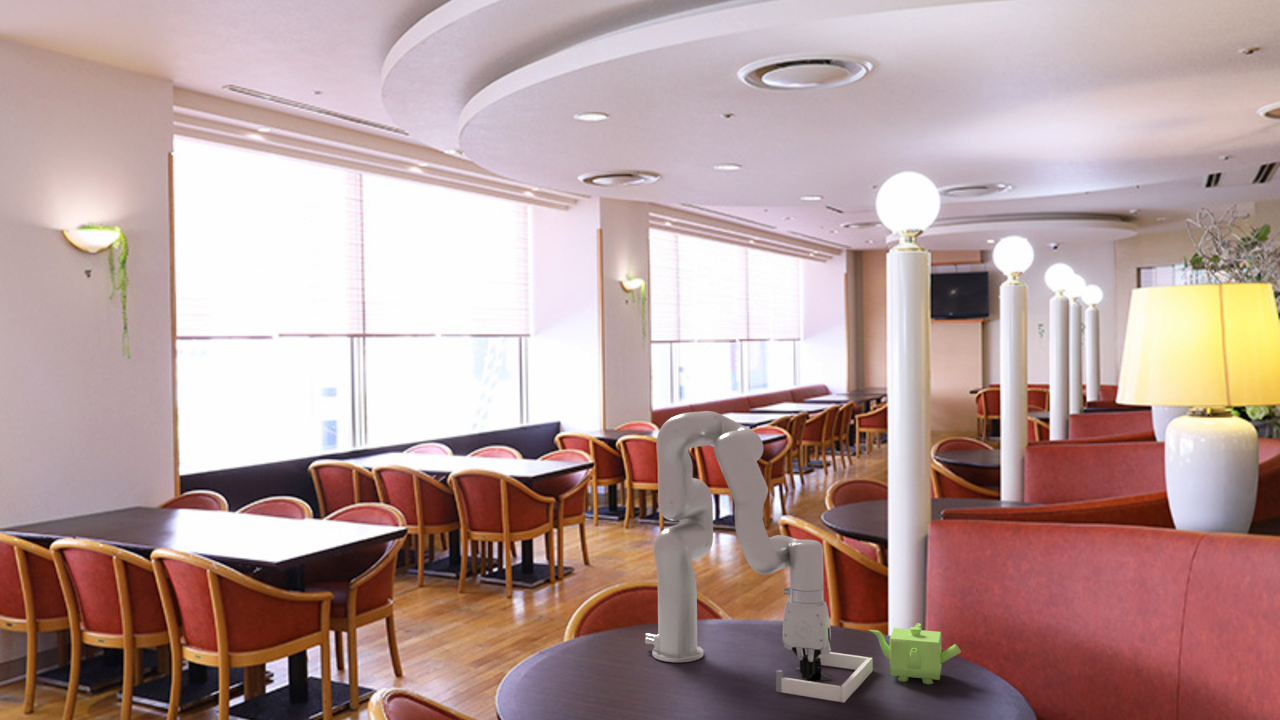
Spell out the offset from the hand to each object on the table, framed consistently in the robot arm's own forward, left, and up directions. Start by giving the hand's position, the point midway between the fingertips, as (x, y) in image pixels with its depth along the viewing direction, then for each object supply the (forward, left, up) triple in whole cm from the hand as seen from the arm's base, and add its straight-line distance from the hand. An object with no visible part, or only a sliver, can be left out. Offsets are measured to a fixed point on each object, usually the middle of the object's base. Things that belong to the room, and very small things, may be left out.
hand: (807, 676), depth 216 cm
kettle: (+21, +13, -1) cm, 25 cm away
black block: (0, +4, -1) cm, 5 cm away
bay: (+4, +1, -1) cm, 4 cm away
